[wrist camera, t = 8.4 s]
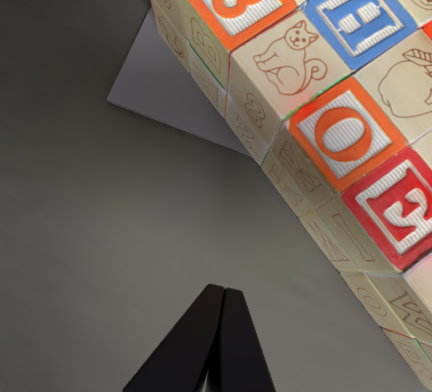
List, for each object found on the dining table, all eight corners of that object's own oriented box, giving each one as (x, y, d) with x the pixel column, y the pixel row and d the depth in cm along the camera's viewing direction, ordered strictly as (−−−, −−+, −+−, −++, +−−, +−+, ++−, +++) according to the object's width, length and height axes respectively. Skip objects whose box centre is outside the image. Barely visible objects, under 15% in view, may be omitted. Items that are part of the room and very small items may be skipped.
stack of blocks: (420, 390, 17) (617, 231, 18) (540, 463, 10) (828, 213, 12) (155, 30, 20) (340, -83, 21) (129, -77, 14) (392, -227, 15)
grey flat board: (407, 216, 18) (410, 215, 18) (107, 102, 19) (106, 99, 19) (460, 42, 20) (463, 39, 20) (182, -54, 21) (181, -58, 21)
